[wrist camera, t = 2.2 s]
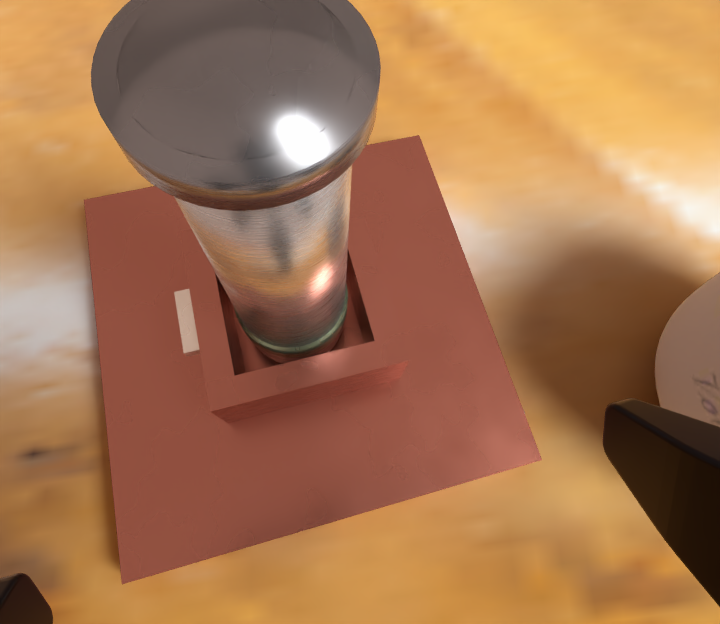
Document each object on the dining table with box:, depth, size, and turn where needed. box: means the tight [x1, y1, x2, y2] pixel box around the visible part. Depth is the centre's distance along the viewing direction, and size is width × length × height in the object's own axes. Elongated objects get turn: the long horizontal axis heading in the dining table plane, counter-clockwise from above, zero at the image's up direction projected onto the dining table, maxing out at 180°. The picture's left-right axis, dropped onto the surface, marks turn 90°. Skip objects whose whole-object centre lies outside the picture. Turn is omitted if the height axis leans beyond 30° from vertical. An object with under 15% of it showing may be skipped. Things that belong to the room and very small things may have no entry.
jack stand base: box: [84, 135, 542, 584], centre depth 20 cm, size 16×16×4 cm
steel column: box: [91, 0, 381, 363], centre depth 14 cm, size 5×5×13 cm
